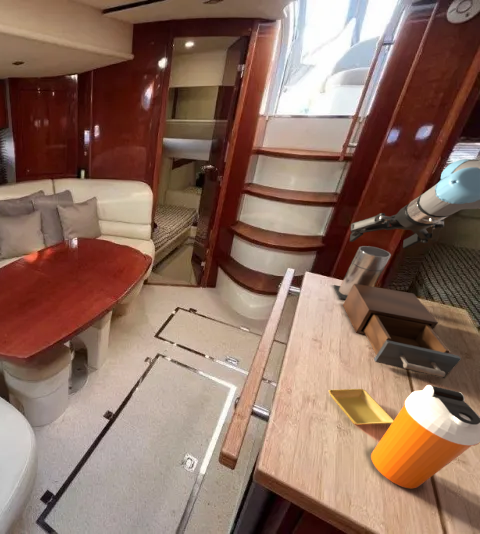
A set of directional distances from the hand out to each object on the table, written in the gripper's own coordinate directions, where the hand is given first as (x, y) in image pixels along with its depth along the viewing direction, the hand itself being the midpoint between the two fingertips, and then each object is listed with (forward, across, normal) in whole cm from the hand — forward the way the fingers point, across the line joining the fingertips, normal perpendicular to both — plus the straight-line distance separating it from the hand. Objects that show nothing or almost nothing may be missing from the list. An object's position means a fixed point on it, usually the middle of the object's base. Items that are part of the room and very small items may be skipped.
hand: (377, 241), depth 99 cm
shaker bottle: (-34, -9, -63) cm, 72 cm away
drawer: (-10, +3, -37) cm, 39 cm away
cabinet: (+2, +3, -27) cm, 27 cm away
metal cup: (+13, 0, -15) cm, 20 cm away
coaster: (+13, 0, -16) cm, 21 cm away
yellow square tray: (-25, -12, -54) cm, 61 cm away
